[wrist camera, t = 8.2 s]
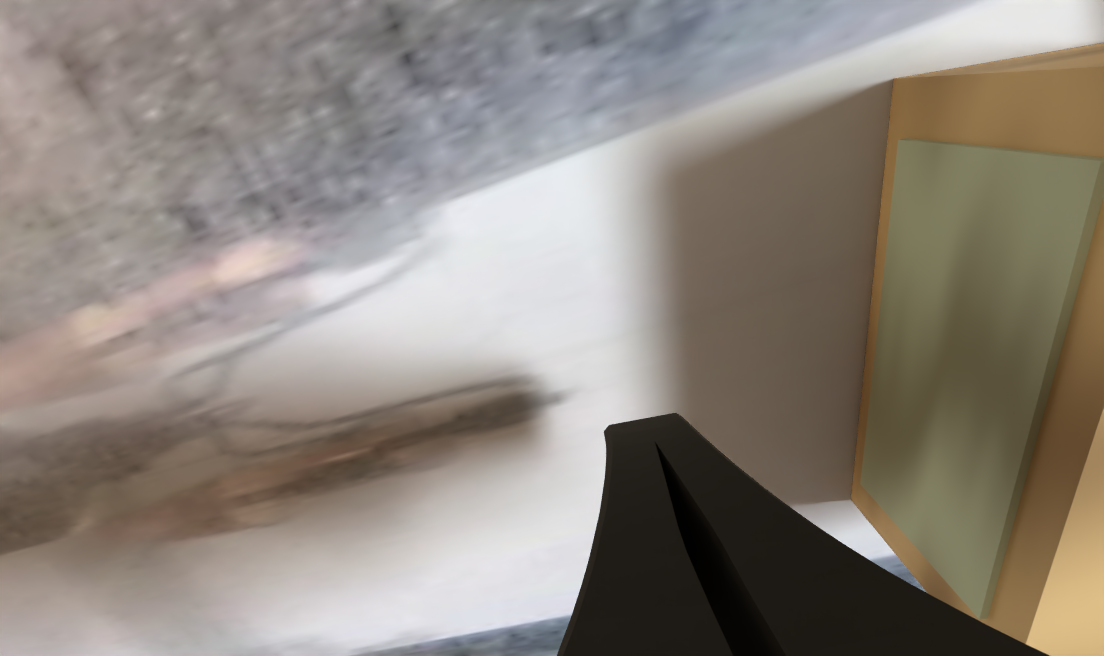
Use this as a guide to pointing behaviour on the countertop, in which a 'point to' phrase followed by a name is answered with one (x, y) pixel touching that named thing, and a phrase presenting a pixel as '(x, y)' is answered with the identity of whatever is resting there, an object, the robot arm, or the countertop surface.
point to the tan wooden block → (993, 345)
